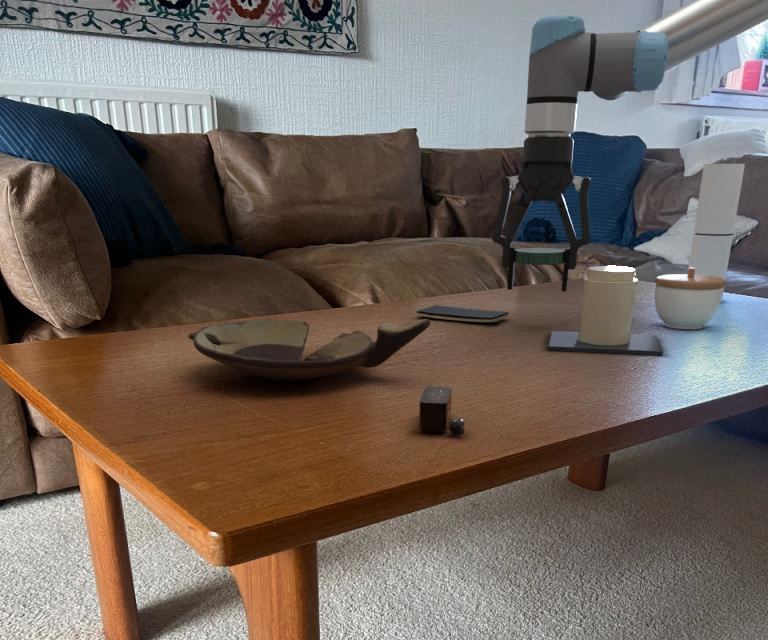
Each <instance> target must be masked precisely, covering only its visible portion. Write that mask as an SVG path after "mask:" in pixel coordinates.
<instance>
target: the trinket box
mask: <svg viewBox="0 0 768 640" xmlns="http://www.w3.org/2000/svg"><path fill="white" fill-rule="evenodd" d="M688 268H689V267H688ZM694 274H695V268H689V270H688V269H687V274H686V273H685V274H682V273H681V274H679V273H678V274H677V273H676V274H675V273H674V274H663V275H659V276H657V277H655V291H654V306H655V307H654V308H655V311H656V314H657V316H658V317H659V318H660V321H662V322H663V326H665V327H667V328H670V329H677V330H699V329H703V328H704V325H706V324H708V322H709V321H711V320H712V319H713V318H714V316H715V315H716V314H717V312H718V310H719V308H720V304H721V303H722V302H721V299H722V300H723V297H722V294H723V295H724V291H723V288H724V289H725V286H726V279H725V280H724V279H722V278H719V277H714V276H705V275H694Z"/></svg>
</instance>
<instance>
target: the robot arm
mask: <svg viewBox="0 0 768 640" xmlns="http://www.w3.org/2000/svg"><path fill="white" fill-rule="evenodd" d="M766 21H768V0H691V1H690V2H688V3H685V4H684V5H682V6H680V7H679V8H677V9H675V10H673V11H671V12H669V13H667V14H666V15H664V16H662V17H660V18H658V19H657V20H655V21H653V22H651V23H649V24H647V25H646V26H643V27H641V28H640V29H638V30H637V31H632V32H631V31H630V32H605V33H603V32H602V33H596V32H587V31H586V28H585V19H583V18H582V17H581V16H578V15H567V14H565V15H564V14H563V15H560V14H559V15H558V14H557V15H550V16H549V15H548V16H543V17H542V18H539V19H538V20H536V22H535V23H534V24H533V26H532V30H531V37H530V48H529V56H528V57H529V58H528V73H527V89H526V91H527V92H526V96H527V97H526V105H525V117H524V118H525V119H524V133H525V134H526V135H527V137H525V139H524V140H523V149H522V163H521V164H522V165H521V169H520V171H519V173H518V174H517V175H513V176H503V177H502V178H501V180H500V184H501V197H500V202H499V206H498V210H497V215H496V220H495V223H494V228H493V233H492V237H491V240H492V242H493V243H494V244H498V245H500V246H501V247H502V259H501V265H502V268H503V269H504V268H506V269H508V272H507V286H506V290H508V291H510V290H511V291H512V290H513V288H514V283H515V281H514V280H515V269H516V268H515V267H516V266H515V265H516V262H514V255H515V250H516V249H517V246H512V243H513V242H514V240H515V237H516V235H517V233H518V231H519V230H520V228H521V225H522V223H523V222H524V219H525V217H526V215H527V213H528V211H529V209H530V207H531V205H532V203H533V202H534V203H535V202H536V203H538V202H542V201H545V202H548V203H554V202H555V205H556V207H557V210H558V212H559V216H560V218H561V222H562V226H563V228H564V231H565V234H566V238H567V240H568V243H569V247H565V249H564V250H565V259H564V263H563V268H562V269H563V271H562V280H561V284H562V285H561V292H564V293H565V292H567V288H568V278H569V270H573V271H575V269H576V268H577V261H578V251H579V249H580V248H581V247H584V246H586V245H589V244H590V243H591V230H590V216H589V201H588V191H589V188H590V184H591V178H590V177H588V176H585V177H584V176H578V175H575V174H574V172H573V169H572V164H573V154H574V143H575V140H574V139H573V137H572V136H571V135H572V134H574V133H575V132H576V131H575V130H576V121H577V109H578V95H579V92H583V93H590V92H592V93H593V95H595V96H596V97H597V98H600V99H602V100H605V101H615V100H617V99H619V98H621V97H623V96H626V94H627V93H630V92H636V93H638V94H639V93H642V92H651V91H652V92H653V91H656V90H658V89H659V88H660V87H661V85H662V84H663V81H664V77H665V74H666V73H667V72H669V71H671V70H673V69H675V68H677V67H679V66H680V65H682V64H685V63H687V62H689V61H690V60H693V59H694V58H696V57H698V56H700V55H702V54H704V53H706V52H707V51H710V50H711V49H714V48H716V47H717V46H719V45H721V44H723V43H725V42H727V41H729V40H731V39H733V38H735V37H737V36H739V35H741V34H742V33H744V32H746V31H748V30H751V29H752V28H754V27H756V26H758V25H760V24H762V23H765V22H766ZM572 183H573V184H574V187H575V191H577V192H579V193H578V199H579V201H578V202H579V213H580V216H579V217H580V228H581V237H577V235H576V231H575V229H574V225H573V223H572V219H571V216H570V214H569V213H570V212H569V210H568V206H567V204H566V200H565V198H564V195H563V194H565V192H566V191H567V189H568V188H569V187H570V186H571V184H572ZM517 184H520V186H521V188H522V189H523V191H524V193H525V196H524V198H523V200H522V202H521V205H520V206H519V209H518V211H517V213H516V214H515V217H514V219H513V221H512V223H511V225H510V227H509V229H508V231H507V233H506V236H504V235H503V233H504V232H503V231H504V227H505V223H506V218H507V213H508V211H509V205H510V200H511V195H512V191H514V190H515V189H516V187H517Z"/></svg>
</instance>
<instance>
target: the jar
mask: <svg viewBox="0 0 768 640" xmlns="http://www.w3.org/2000/svg"><path fill="white" fill-rule="evenodd" d="M586 270H587V276H585V277H583V282H582V291H581V292H582V294H581V304H580V314H579V325H578V332H579V333H578V340H579V341H581V342H583V343H587V344H593V345H604V346H615V345H624V344H628V343H629V342H630V337H631V334H632V328H633V320H634V312H635V304H636V295H637V288H638V278H635V276H636V268H633V267H628V266H616V265H598V266H590V267H588V268H587V269H586Z"/></svg>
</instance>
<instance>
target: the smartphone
mask: <svg viewBox="0 0 768 640" xmlns="http://www.w3.org/2000/svg"><path fill="white" fill-rule="evenodd" d="M509 314H510V313H509V311H505V310H504V311H503V310H502V311H501V310H487V309H476V308H466V307H465V308H464V307H454V306H447V305H438V304H437V305H432V306H428V307H424V308H421V309H418V310H417V311H416V316H419V317H425V318H432V319H441V320H448V321H449V320H450V321H458V322H459V321H460V322H474V323H495V322H499V321H502V320H504V319H506V318H508V317H509Z"/></svg>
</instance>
